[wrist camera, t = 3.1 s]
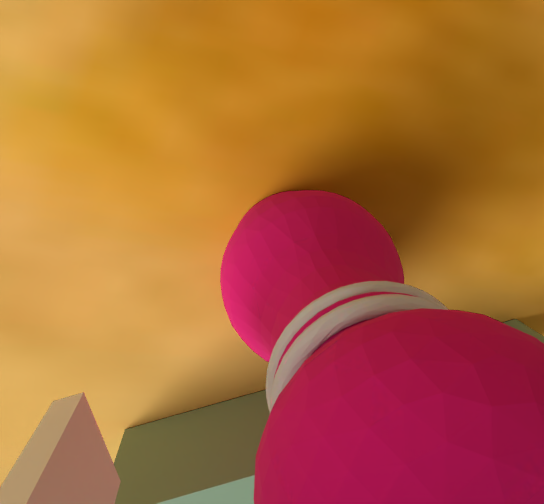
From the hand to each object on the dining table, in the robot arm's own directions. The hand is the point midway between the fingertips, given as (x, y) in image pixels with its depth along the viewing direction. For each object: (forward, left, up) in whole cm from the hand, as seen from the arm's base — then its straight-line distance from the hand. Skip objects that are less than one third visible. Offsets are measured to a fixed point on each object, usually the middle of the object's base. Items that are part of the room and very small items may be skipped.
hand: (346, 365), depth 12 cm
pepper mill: (0, 0, -12) cm, 12 cm away
